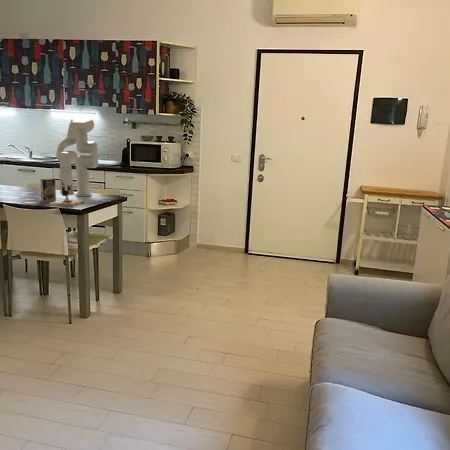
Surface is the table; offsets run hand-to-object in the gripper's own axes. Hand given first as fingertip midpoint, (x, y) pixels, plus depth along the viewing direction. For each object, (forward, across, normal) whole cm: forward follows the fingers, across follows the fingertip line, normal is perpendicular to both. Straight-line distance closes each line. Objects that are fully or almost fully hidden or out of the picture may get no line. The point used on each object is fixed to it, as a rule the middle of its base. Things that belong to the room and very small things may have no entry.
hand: (66, 194), depth 333 cm
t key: (+4, 0, 0) cm, 4 cm away
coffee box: (+7, -5, -19) cm, 21 cm away
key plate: (+7, 0, 0) cm, 7 cm away
